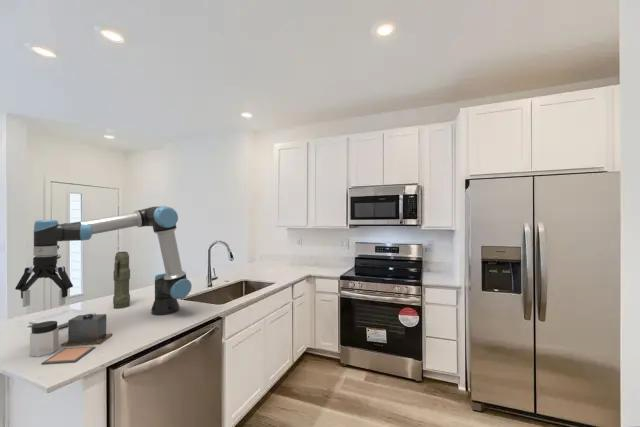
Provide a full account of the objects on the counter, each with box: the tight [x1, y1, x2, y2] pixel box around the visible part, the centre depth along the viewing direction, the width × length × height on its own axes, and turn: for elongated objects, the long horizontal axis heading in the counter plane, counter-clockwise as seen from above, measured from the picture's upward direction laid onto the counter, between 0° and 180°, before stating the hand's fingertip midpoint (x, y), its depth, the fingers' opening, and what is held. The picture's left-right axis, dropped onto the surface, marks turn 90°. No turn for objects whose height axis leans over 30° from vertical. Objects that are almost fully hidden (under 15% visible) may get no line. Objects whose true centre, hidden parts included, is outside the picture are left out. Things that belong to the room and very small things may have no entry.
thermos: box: [112, 251, 131, 310], centre depth 188 cm, size 9×12×35 cm
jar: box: [29, 321, 60, 358], centre depth 125 cm, size 9×8×12 cm
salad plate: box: [28, 308, 97, 329], centre depth 160 cm, size 21×21×3 cm
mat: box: [41, 345, 96, 366], centre depth 122 cm, size 12×13×1 cm
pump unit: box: [60, 313, 113, 347], centre depth 137 cm, size 16×10×12 cm, turn 98°
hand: (44, 305), depth 125 cm, fingers open, 13 cm apart
